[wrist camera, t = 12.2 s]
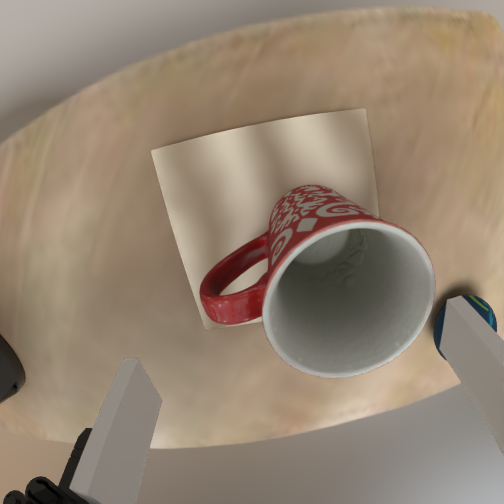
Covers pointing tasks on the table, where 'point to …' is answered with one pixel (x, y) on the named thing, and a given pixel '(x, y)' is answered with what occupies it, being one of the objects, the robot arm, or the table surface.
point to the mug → (328, 285)
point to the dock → (257, 184)
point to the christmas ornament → (477, 304)
